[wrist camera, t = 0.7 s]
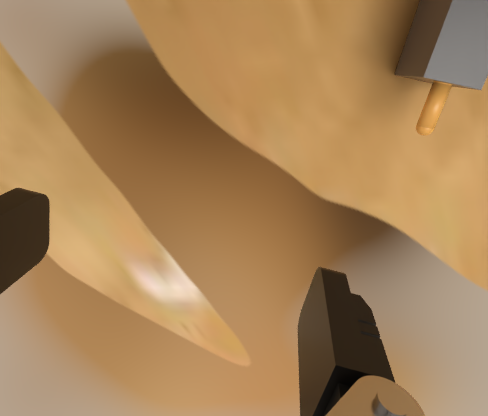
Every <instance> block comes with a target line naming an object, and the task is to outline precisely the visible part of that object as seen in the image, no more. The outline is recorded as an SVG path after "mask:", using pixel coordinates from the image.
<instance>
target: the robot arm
mask: <svg viewBox="0 0 488 416" xmlns="http://www.w3.org/2000/svg"><path fill="white" fill-rule="evenodd" d="M48 246H49V199H48V197H47V196H46V195H44V194H41V193H37V192H33V191H29V190H25V189H22V188H15V189H13V190H11V191H9V192H7V193H4V194H2V195H0V294H1V293H2V292H3V291H5V290H6V289H7V288H8V287H10V286H11V285H12V284H13V283H14V282H16V281H17V280H18V279H19V278H21V277H22V276H23V275H24V274H25V273H27V272H28V271H29V270H31V269H32V268H33V267H34V266H35V265H37V264H38V263H39V262H40V261H41V260H42V259H43V257H44V255H45V254H46V252H47V249H48ZM298 355H299V388H300V416H425V415H424V412H423V410H422V409H421V407H420V406H419V404H418V403H417V401H416V400H415V399H414V398H413V397H412V396H411V395H410V394H409V393H408V392H407V391H406V390H405V389H403V388H402V387H401V386H399V385H398V384H396V383H395V380H394V377H393V374H392V371H391V368H390V365H389V362H388V359H387V356H386V353H385V350H384V346H383V344H382V340H381V339H380V334H379V331H378V328H377V327H376V322H375V319H374V316H373V313H372V310H371V308H370V307H369V306H368V305H367V304H366V302H365V301H364V300H363V299H362V297H361V296H360V295H356V294H352V293H351V292H350V289H349V285H348V281H347V278H346V274H344V273H341V272H337V271H333V270H330V269H326V268H322V267H318V269H317V270H316V272H315V275H314V277H313V280H312V283H311V286H310V289H309V291H308V294H307V296H306V299H305V302H304V304H303V307H302V310H301V313H300V318H299V323H298Z"/></svg>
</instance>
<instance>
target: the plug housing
mask: <svg viewBox="0 0 488 416" xmlns="http://www.w3.org/2000/svg"><path fill="white" fill-rule="evenodd" d="M394 75H397V76H402V77H406V78H411V79H415V80H420V81H424V82H429V83H433V84H432V87H431V89H430V92H429V94H428V97H427V100H426V102H425V105H424V107H423V110H422V112H421V115H420V118H419V120H418V123H417V125H416V130H417V132H418V133H419V134H420V135H429V134H430V133H432V132H433V130H434V128H435V126H436V123H437V121H438V118H439V116H440V113H441V111H442V109H443V106H444V104H445V101H446V99H447V96H448V94H449V92H450V89H451V87H452V86H453V87H461V88H469V89H477V90H481V89H482V87H483V85H484V82H485V80H486V78H487V76H488V0H420V2H419V5H418V8H417V11H416V14H415V17H414V19H413V22H412V25H411V28H410V31H409V34H408V37H407V40H406V42H405V45H404V48H403V51H402V54H401V57H400V60H399V63H398V65H397V68H396V71H395V74H394Z"/></svg>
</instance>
